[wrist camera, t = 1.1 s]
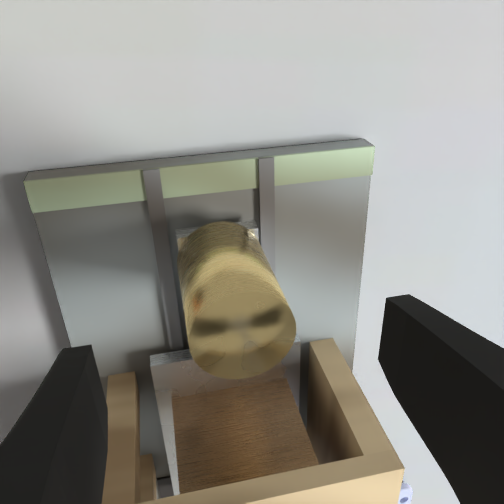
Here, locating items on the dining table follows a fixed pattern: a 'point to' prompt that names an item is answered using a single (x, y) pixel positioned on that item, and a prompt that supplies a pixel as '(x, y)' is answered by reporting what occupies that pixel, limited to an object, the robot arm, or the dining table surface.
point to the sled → (230, 366)
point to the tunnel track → (172, 313)
